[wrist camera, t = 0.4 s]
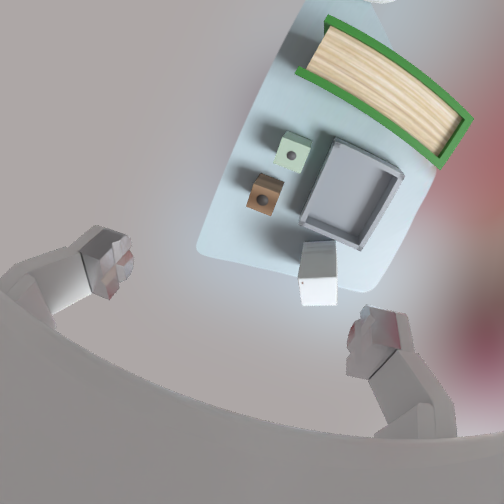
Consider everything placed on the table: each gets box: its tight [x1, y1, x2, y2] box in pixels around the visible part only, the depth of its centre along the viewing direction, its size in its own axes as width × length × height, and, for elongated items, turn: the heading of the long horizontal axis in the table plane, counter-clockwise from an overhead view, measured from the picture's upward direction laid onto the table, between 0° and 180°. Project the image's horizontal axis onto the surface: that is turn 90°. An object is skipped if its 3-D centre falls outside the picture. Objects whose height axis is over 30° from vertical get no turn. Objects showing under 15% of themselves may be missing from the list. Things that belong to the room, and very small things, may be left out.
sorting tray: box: [298, 137, 405, 251], centre depth 50 cm, size 18×14×4 cm
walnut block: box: [246, 173, 284, 216], centre depth 53 cm, size 5×5×6 cm
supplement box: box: [298, 240, 338, 306], centre depth 56 cm, size 7×7×13 cm
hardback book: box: [295, 15, 474, 170], centre depth 30 cm, size 18×7×24 cm, turn 66°
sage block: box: [273, 131, 312, 174], centre depth 47 cm, size 5×5×6 cm
